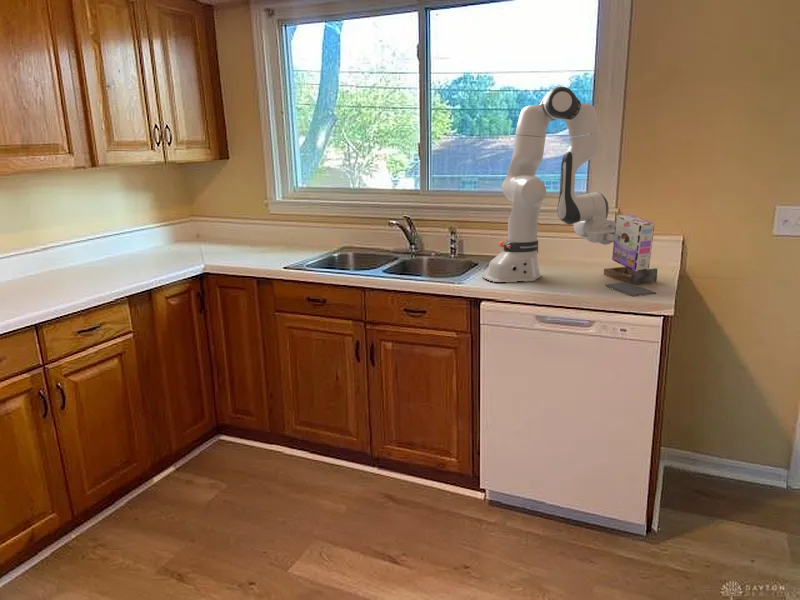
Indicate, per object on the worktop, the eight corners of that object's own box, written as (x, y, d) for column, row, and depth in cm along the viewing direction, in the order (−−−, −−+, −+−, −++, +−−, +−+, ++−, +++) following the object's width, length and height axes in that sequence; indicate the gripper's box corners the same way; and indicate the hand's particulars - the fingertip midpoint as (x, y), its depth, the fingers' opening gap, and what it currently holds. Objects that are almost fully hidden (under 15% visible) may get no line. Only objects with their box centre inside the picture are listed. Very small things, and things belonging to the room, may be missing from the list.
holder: (632, 285, 223) (633, 271, 221) (603, 275, 239) (604, 262, 238) (656, 282, 225) (657, 268, 224) (626, 272, 242) (627, 259, 241)
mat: (632, 296, 208) (632, 294, 208) (605, 286, 223) (605, 284, 222) (656, 293, 210) (656, 292, 210) (627, 283, 225) (627, 282, 225)
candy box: (649, 270, 210) (655, 222, 204) (634, 272, 209) (640, 224, 202) (625, 258, 222) (630, 213, 216) (611, 259, 221) (615, 214, 215)
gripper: (579, 225, 224) (601, 231, 211) (628, 220, 229) (653, 225, 216) (579, 243, 226) (600, 249, 213) (628, 237, 231) (652, 243, 218)
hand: (627, 237), depth 215 cm, fingers closed on candy box, 6 cm apart
